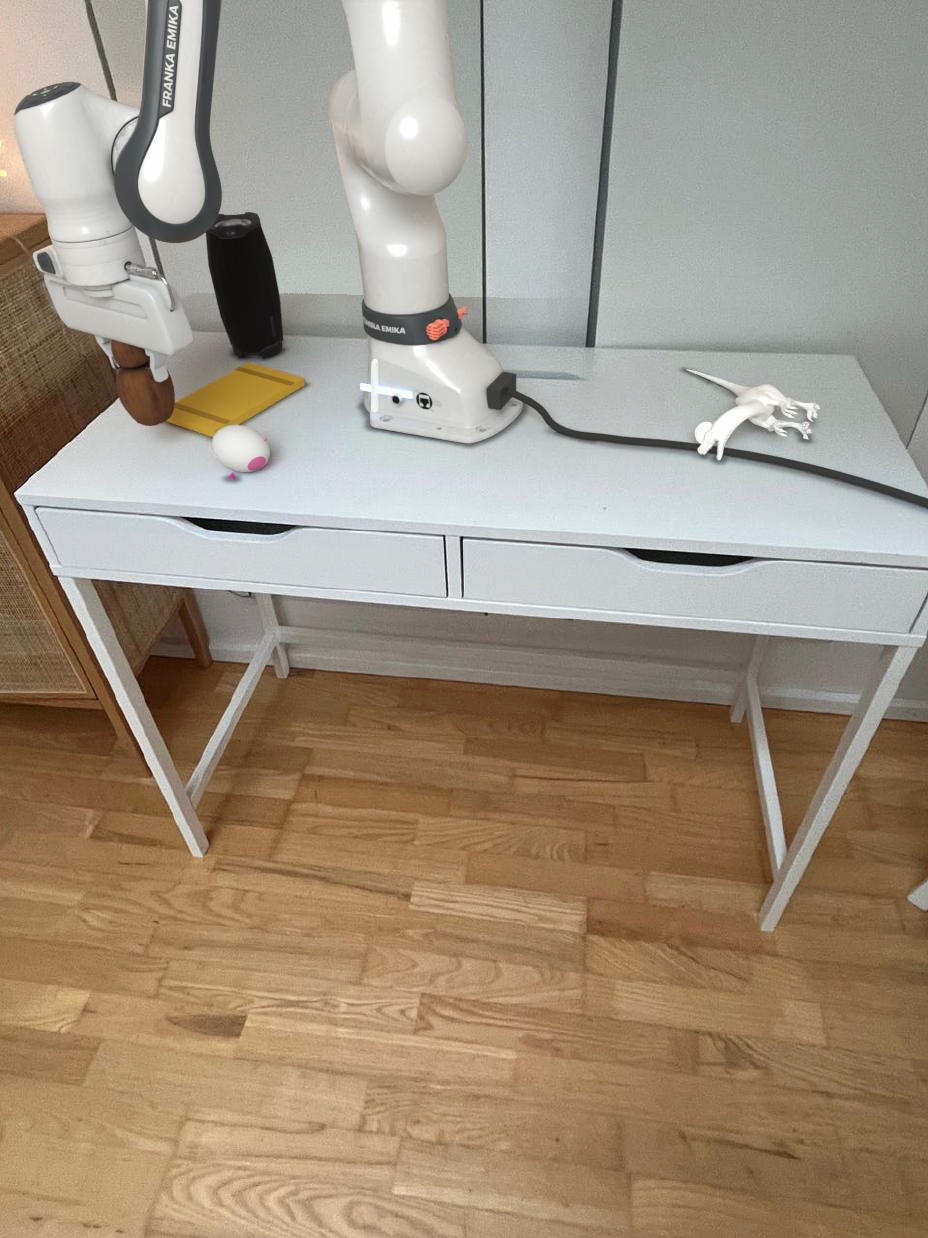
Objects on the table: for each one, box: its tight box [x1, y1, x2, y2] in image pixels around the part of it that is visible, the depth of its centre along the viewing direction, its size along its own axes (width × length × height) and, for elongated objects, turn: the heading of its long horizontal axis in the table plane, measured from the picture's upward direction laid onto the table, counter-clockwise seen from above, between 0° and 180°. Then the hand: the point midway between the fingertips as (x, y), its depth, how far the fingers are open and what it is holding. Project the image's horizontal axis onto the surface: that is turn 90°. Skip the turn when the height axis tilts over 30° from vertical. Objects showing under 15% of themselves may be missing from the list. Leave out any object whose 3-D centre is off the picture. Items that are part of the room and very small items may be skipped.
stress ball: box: [211, 424, 271, 481], centre depth 104 cm, size 8×8×7 cm
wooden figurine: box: [111, 340, 176, 427], centre depth 101 cm, size 7×6×15 cm
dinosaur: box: [685, 368, 821, 461], centre depth 110 cm, size 25×9×16 cm
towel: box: [166, 362, 306, 438], centre depth 118 cm, size 11×18×1 cm, turn 147°
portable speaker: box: [205, 211, 284, 359], centre depth 125 cm, size 9×9×20 cm
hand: (140, 373), depth 102 cm, fingers closed on wooden figurine, 5 cm apart
